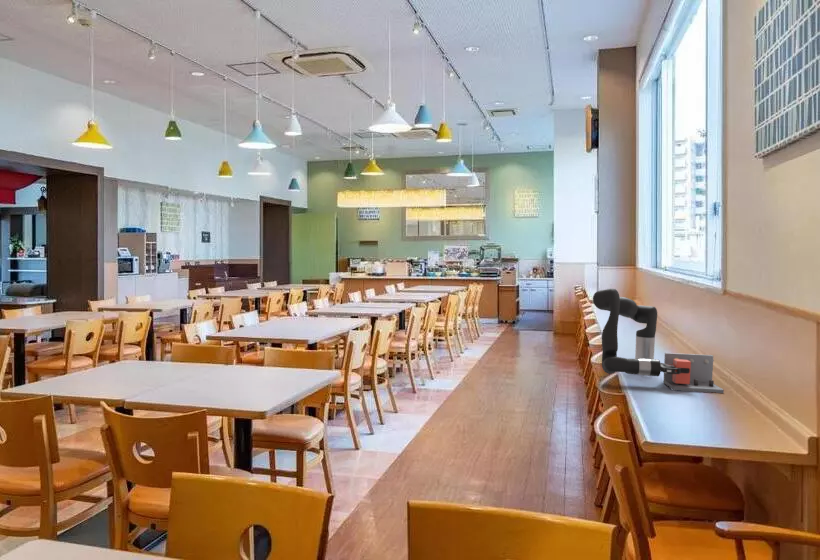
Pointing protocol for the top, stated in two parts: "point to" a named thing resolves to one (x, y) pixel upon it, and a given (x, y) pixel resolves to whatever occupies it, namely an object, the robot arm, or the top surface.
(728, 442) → the top surface
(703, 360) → the grey peg stand
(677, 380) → the tall coral upright block
